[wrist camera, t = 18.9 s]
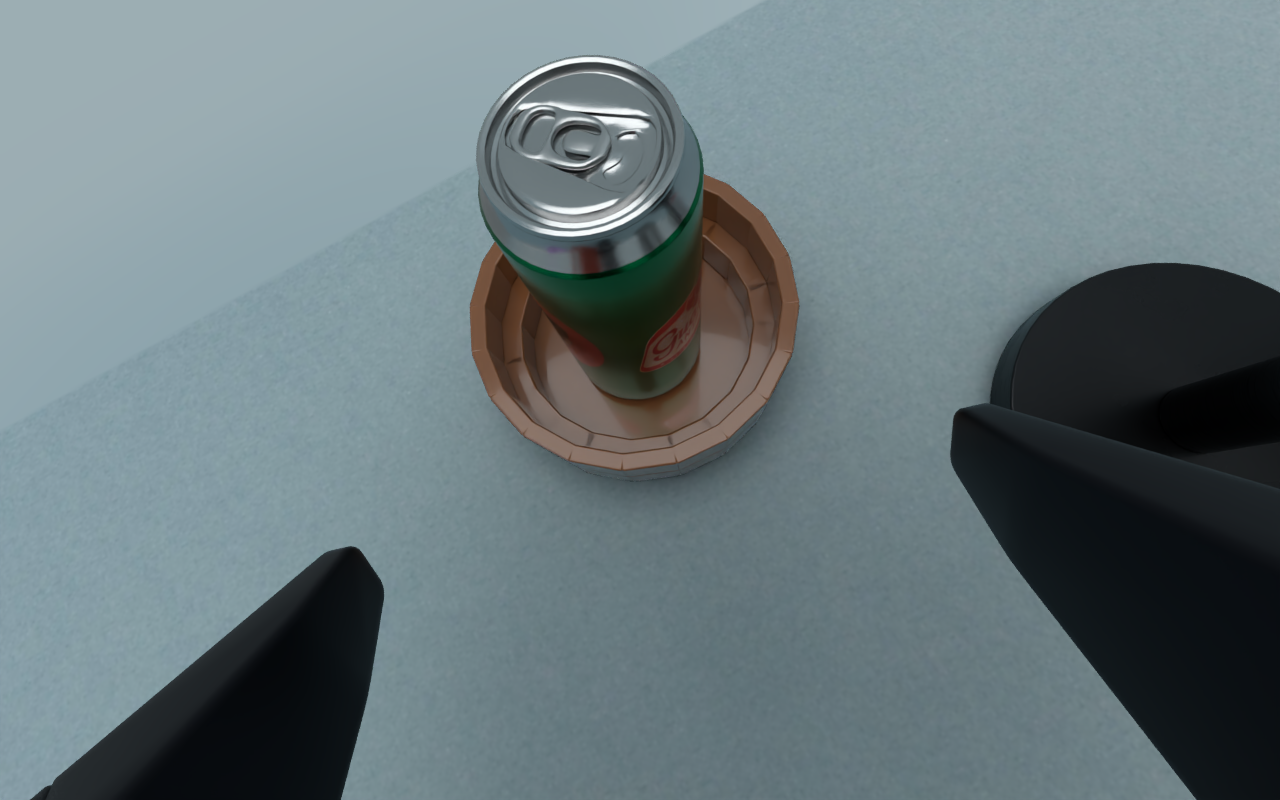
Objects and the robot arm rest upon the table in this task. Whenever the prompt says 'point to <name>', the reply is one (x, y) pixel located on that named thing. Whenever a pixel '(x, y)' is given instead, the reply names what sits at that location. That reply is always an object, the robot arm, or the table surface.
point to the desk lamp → (1157, 365)
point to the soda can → (601, 215)
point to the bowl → (680, 418)
